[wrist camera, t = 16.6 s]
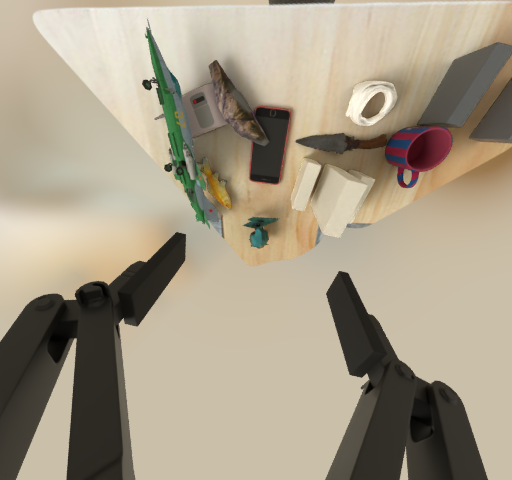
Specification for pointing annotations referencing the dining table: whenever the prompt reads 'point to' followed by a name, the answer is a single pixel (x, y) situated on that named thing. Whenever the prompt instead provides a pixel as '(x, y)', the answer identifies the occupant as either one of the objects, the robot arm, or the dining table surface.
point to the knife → (341, 142)
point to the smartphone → (270, 145)
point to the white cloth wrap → (365, 94)
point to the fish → (215, 184)
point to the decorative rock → (235, 107)
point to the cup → (418, 150)
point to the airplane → (179, 136)
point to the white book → (336, 199)
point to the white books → (308, 179)
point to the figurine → (259, 231)
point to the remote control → (202, 110)
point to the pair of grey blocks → (473, 95)
